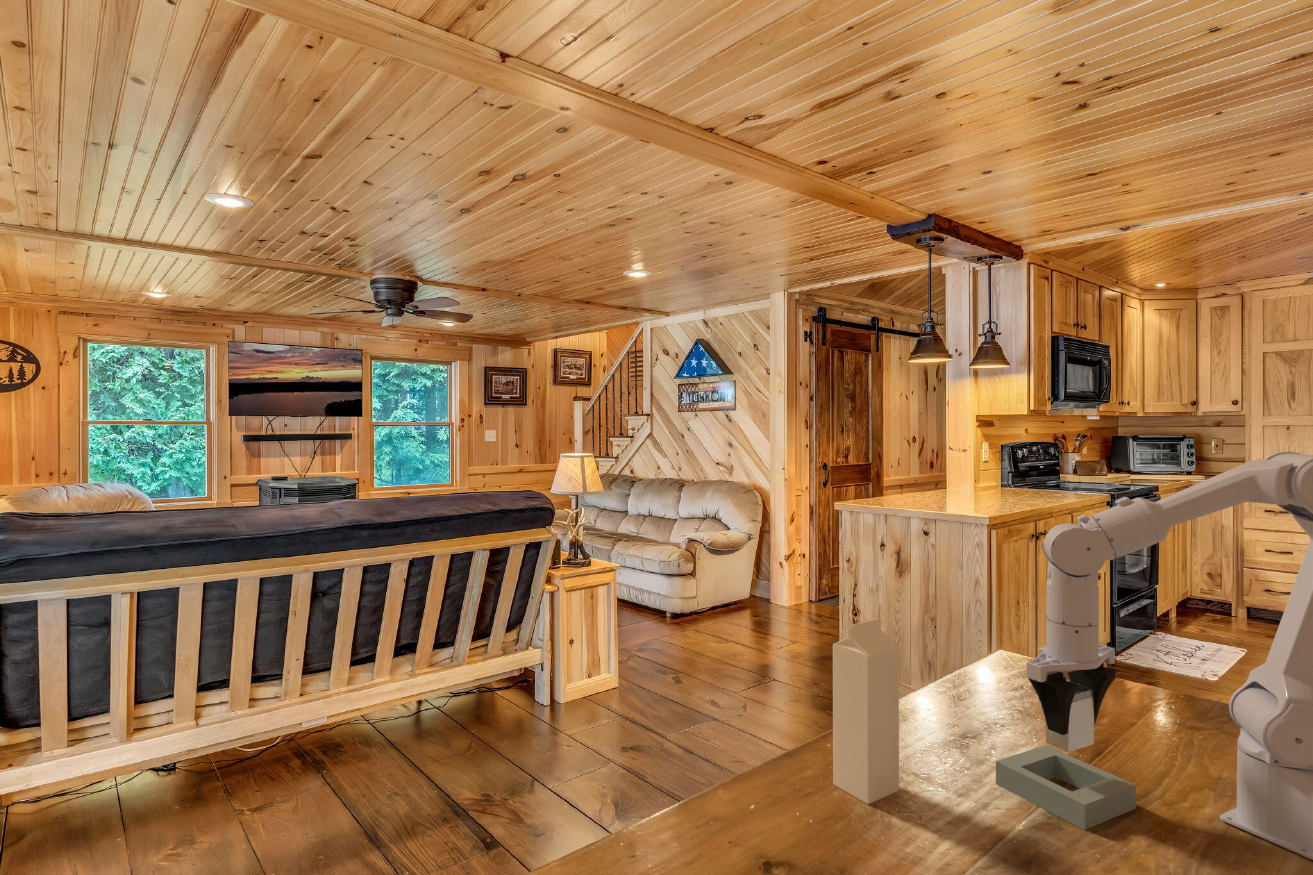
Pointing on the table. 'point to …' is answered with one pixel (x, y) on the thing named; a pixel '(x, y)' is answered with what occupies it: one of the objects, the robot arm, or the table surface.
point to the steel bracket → (1076, 722)
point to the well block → (1082, 807)
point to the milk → (866, 713)
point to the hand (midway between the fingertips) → (1071, 727)
